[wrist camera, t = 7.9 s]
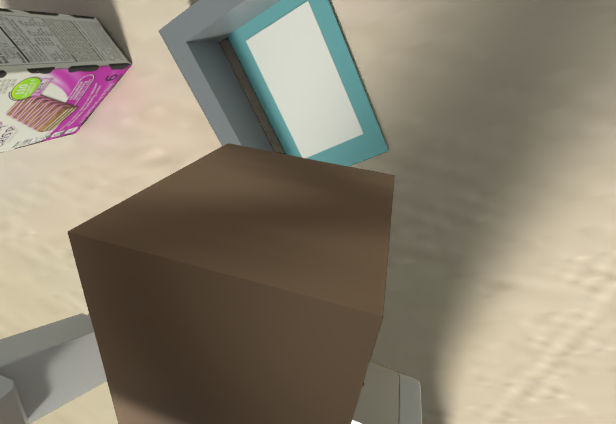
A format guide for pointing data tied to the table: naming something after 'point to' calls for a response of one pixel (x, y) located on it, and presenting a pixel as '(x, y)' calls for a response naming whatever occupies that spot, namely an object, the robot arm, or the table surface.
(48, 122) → the candy bar box
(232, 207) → the walnut block
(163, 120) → the table surface
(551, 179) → the table surface
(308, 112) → the corner bracket
